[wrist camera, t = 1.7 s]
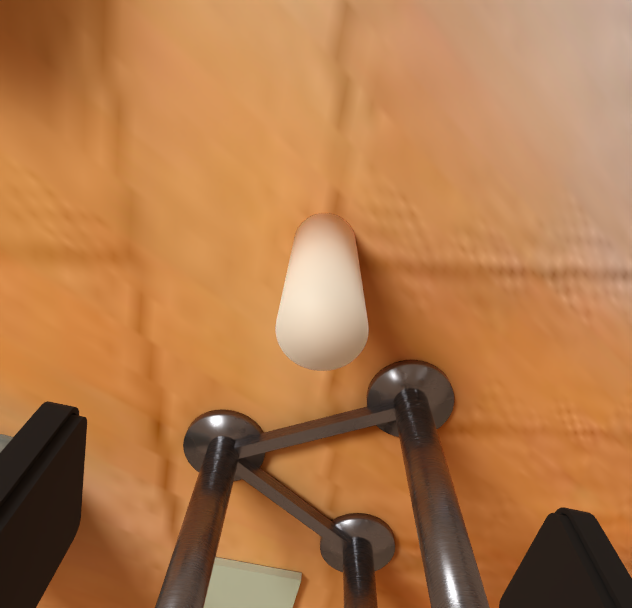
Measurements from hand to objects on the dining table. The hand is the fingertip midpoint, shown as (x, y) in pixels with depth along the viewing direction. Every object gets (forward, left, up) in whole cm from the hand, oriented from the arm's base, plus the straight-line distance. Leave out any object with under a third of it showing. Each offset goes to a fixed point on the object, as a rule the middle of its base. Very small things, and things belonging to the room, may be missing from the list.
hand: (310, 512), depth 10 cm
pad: (0, +28, -18) cm, 33 cm away
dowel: (0, 0, -18) cm, 18 cm away
